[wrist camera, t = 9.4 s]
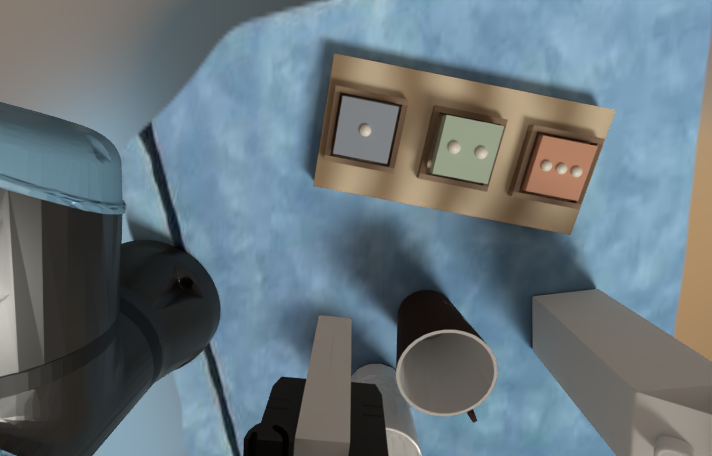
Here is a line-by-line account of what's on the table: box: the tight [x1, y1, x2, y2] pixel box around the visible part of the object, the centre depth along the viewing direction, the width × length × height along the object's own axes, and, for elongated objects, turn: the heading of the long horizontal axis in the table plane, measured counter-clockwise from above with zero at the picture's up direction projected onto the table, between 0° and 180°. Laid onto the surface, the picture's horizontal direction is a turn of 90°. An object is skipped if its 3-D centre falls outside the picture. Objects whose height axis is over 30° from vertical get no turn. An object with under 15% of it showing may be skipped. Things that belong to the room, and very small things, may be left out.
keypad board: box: [313, 53, 616, 235], centre depth 33 cm, size 26×12×3 cm, turn 79°
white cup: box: [351, 364, 422, 456], centre depth 36 cm, size 8×8×10 cm
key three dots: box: [520, 135, 598, 201], centre depth 31 cm, size 5×5×2 cm
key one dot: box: [333, 96, 399, 164], centre depth 31 cm, size 5×5×2 cm
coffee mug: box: [396, 290, 498, 422], centre depth 34 cm, size 12×9×10 cm
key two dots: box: [429, 115, 504, 184], centre depth 30 cm, size 5×5×2 cm
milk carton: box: [532, 289, 712, 456], centre depth 29 cm, size 7×7×19 cm
